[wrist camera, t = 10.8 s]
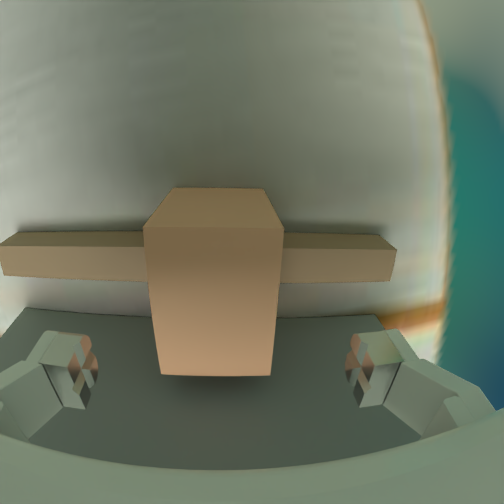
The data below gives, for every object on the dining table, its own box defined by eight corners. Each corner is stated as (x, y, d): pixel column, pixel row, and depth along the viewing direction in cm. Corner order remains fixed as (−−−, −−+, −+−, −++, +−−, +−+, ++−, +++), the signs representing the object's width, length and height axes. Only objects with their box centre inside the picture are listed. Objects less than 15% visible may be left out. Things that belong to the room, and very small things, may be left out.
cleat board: (6, 232, 17) (-110, 326, 6) (392, 235, 19) (517, 346, 8) (33, 333, 20) (-36, 446, 9) (367, 340, 23) (436, 468, 12)
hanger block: (173, 187, 17) (142, 226, 11) (262, 188, 18) (284, 228, 11) (178, 297, 20) (161, 374, 14) (256, 298, 20) (270, 375, 14)
